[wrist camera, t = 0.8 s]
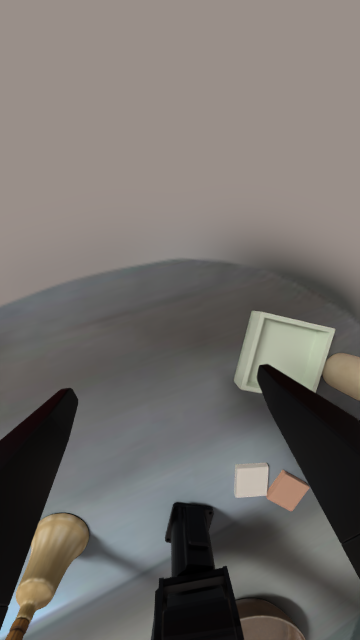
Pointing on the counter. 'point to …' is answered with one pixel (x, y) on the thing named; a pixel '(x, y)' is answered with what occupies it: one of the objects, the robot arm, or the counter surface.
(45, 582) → the hand bell
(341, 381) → the candle
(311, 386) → the tray
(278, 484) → the tile terracotta
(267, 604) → the plant saucer
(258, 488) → the tile white
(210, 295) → the counter surface
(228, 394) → the counter surface
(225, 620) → the robot arm
